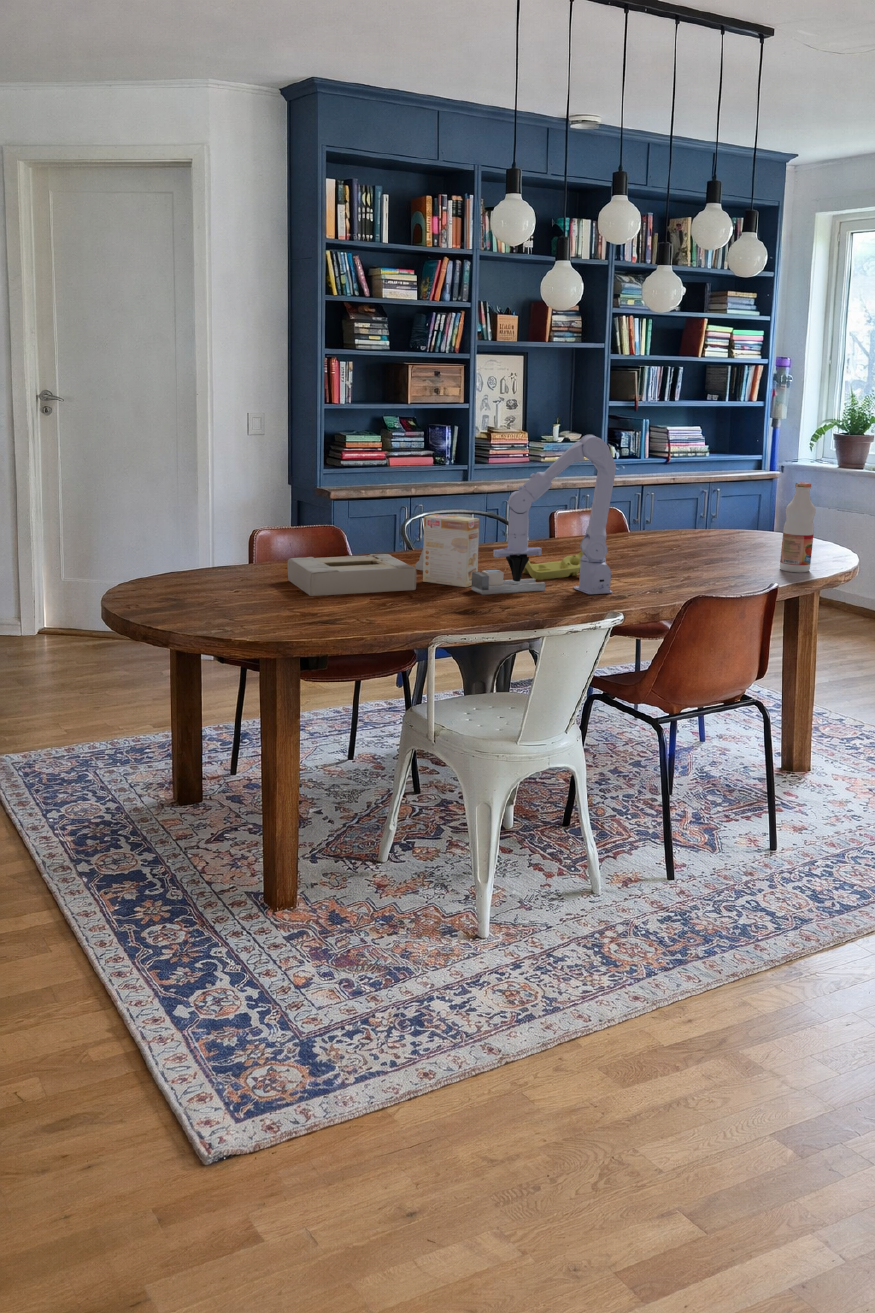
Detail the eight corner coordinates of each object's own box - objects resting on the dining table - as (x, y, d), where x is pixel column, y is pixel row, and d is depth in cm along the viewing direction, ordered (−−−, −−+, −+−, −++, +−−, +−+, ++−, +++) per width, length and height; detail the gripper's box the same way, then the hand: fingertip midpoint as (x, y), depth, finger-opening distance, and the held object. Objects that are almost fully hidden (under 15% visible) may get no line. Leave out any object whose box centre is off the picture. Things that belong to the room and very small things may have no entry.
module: (503, 587, 335) (503, 571, 334) (487, 588, 333) (487, 572, 332) (497, 585, 338) (497, 569, 337) (481, 586, 337) (482, 570, 335)
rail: (544, 590, 339) (545, 572, 337) (481, 594, 331) (482, 576, 330) (533, 585, 345) (534, 568, 344) (471, 589, 337) (472, 571, 336)
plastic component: (534, 573, 352) (523, 553, 360) (531, 592, 357) (520, 573, 364) (595, 565, 358) (582, 546, 365) (591, 585, 363) (578, 566, 370)
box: (388, 576, 357) (286, 581, 344) (389, 551, 355) (286, 555, 342) (417, 593, 336) (310, 598, 324) (418, 566, 334) (310, 571, 322)
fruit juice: (776, 566, 385) (785, 480, 378) (806, 568, 384) (815, 481, 377) (782, 572, 376) (791, 484, 369) (812, 573, 375) (821, 485, 368)
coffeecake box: (478, 584, 346) (480, 517, 341) (466, 588, 340) (468, 520, 335) (434, 578, 353) (435, 513, 348) (421, 581, 347) (423, 515, 342)
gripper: (501, 537, 328) (499, 584, 332) (547, 534, 334) (545, 581, 338) (490, 533, 335) (489, 580, 338) (535, 531, 340) (534, 577, 344)
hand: (516, 580), depth 338 cm, fingers closed
